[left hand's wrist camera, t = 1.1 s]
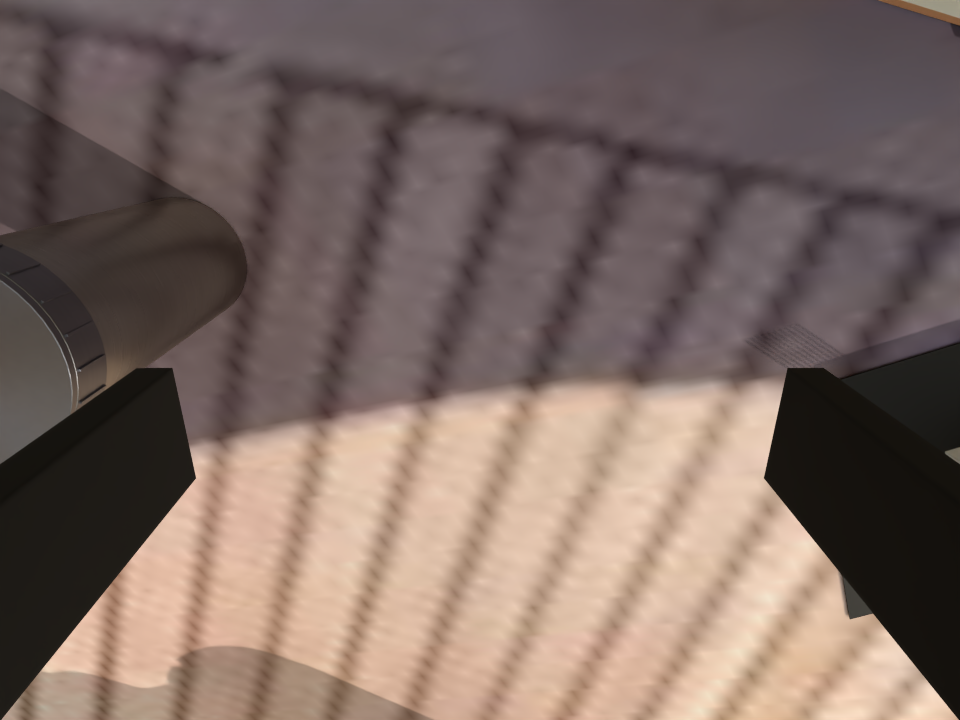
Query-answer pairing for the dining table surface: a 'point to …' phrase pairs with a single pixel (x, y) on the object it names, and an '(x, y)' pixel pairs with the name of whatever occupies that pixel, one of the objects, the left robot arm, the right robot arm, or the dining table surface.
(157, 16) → the dining table surface
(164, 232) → the jar
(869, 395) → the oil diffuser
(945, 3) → the organizer
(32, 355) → the lid
